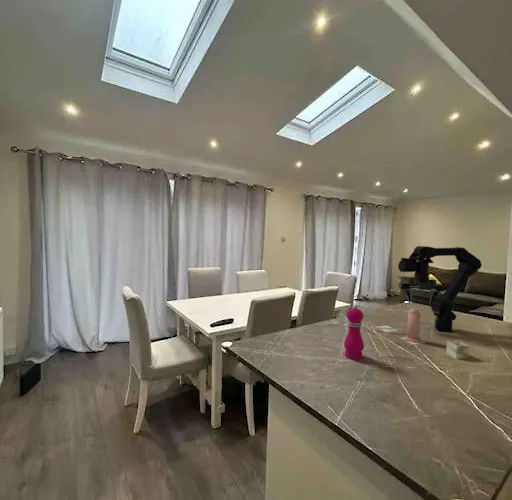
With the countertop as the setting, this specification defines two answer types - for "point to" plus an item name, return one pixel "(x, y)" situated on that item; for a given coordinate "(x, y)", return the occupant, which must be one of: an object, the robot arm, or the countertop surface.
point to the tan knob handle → (413, 326)
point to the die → (457, 350)
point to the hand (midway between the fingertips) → (420, 304)
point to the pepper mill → (354, 334)
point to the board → (396, 333)
